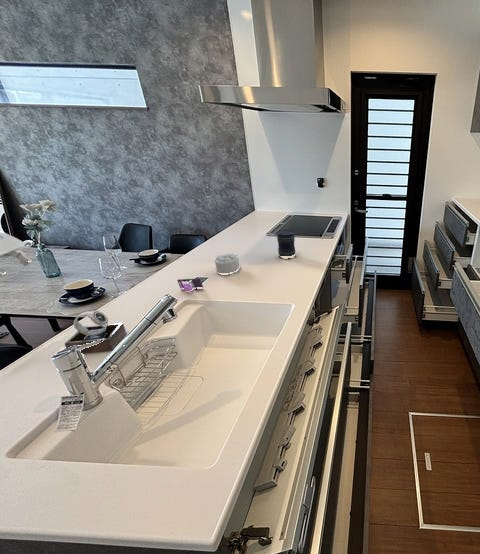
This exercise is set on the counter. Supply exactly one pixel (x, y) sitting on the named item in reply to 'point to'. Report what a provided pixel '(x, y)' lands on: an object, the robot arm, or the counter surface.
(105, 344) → the box
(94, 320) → the watch
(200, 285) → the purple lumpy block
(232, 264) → the lumpy-topped squat cylinder
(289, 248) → the storage jar
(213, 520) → the counter surface
